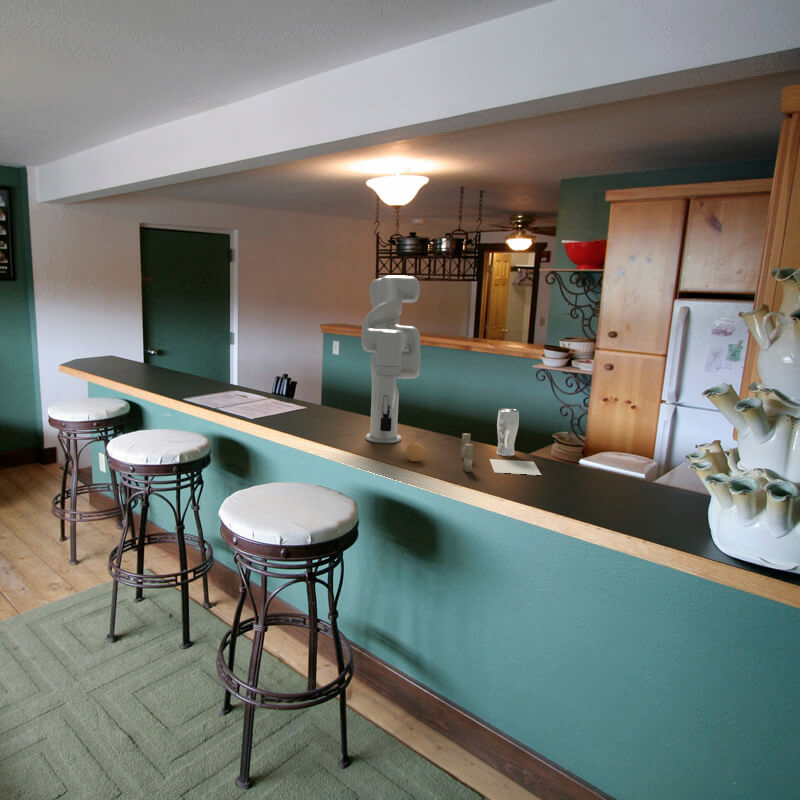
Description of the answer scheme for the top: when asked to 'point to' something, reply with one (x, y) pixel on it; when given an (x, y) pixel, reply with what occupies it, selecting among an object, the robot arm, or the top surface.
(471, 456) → the front post
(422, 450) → the ball
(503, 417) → the beer glass
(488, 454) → the top surface
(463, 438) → the back post
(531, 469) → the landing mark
